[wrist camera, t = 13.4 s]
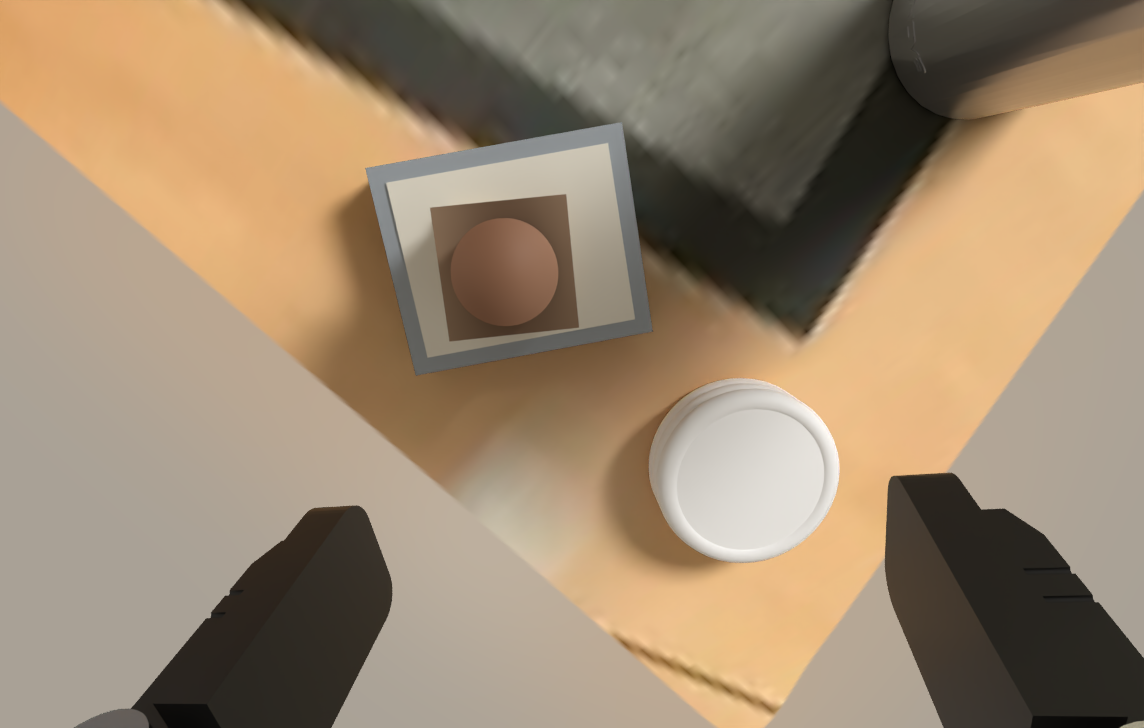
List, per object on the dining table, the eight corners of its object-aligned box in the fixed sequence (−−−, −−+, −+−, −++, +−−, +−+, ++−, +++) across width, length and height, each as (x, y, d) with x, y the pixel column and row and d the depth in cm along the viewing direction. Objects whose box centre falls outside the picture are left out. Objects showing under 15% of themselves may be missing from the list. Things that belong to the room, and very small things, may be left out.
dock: (613, 131, 32) (622, 121, 29) (642, 321, 34) (653, 332, 31) (380, 172, 32) (364, 167, 29) (425, 361, 34) (415, 376, 31)
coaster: (613, 484, 37) (622, 512, 33) (711, 342, 35) (731, 355, 32) (749, 563, 38) (770, 597, 35) (848, 431, 37) (880, 453, 33)
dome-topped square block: (561, 195, 29) (574, 185, 21) (572, 304, 31) (588, 340, 22) (450, 206, 29) (414, 201, 20) (466, 316, 30) (438, 357, 22)
